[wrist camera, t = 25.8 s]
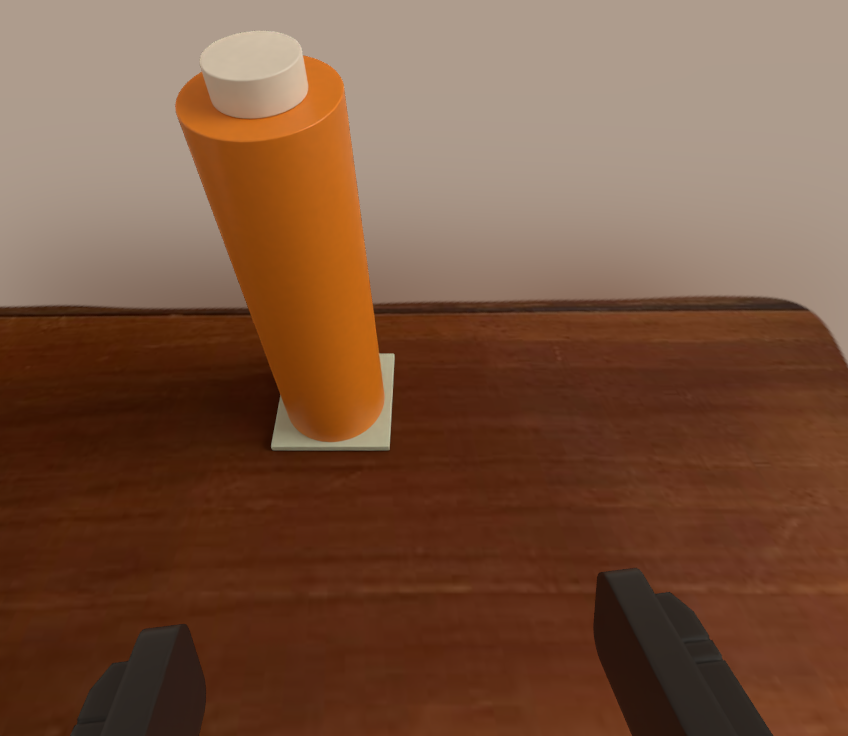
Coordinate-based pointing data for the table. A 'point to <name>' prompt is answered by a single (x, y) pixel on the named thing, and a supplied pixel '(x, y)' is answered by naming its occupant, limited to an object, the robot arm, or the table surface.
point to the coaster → (368, 440)
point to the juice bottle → (290, 222)
